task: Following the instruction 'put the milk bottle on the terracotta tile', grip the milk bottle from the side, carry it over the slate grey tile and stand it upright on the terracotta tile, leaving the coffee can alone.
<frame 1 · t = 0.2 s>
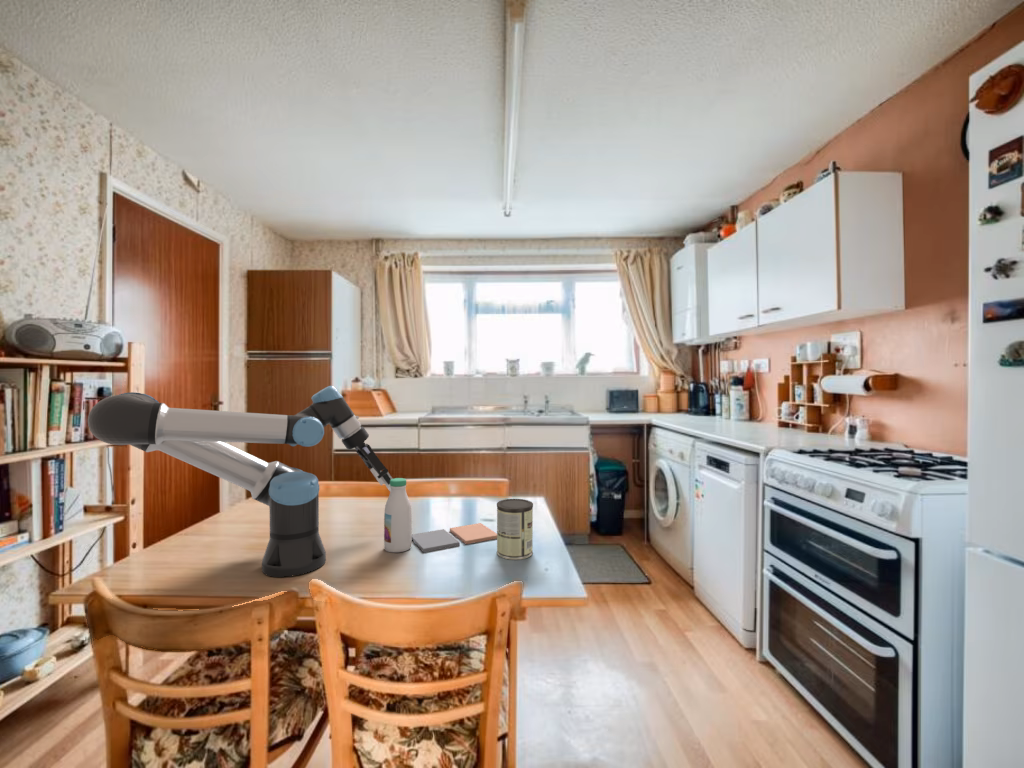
hand: (389, 486, 145), 15 cm above the table, tool tilted 35°, fingers open, 13 cm apart
coffee can: (514, 553, 130), on the table
terracotta tile: (473, 534, 144), on the table
slate tile: (434, 541, 138), on the table
milk bottle: (398, 548, 133), on the table
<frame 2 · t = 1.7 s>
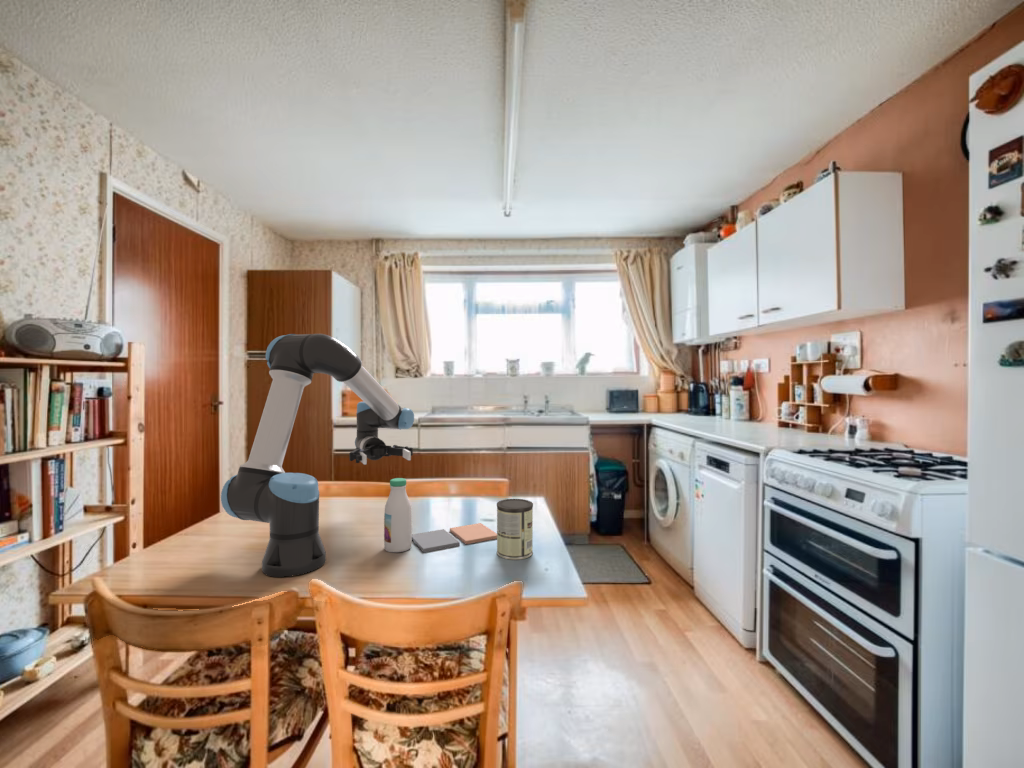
hand: (388, 458, 142), 24 cm above the table, tool horizontal, fingers open, 13 cm apart
nothing on the table moved.
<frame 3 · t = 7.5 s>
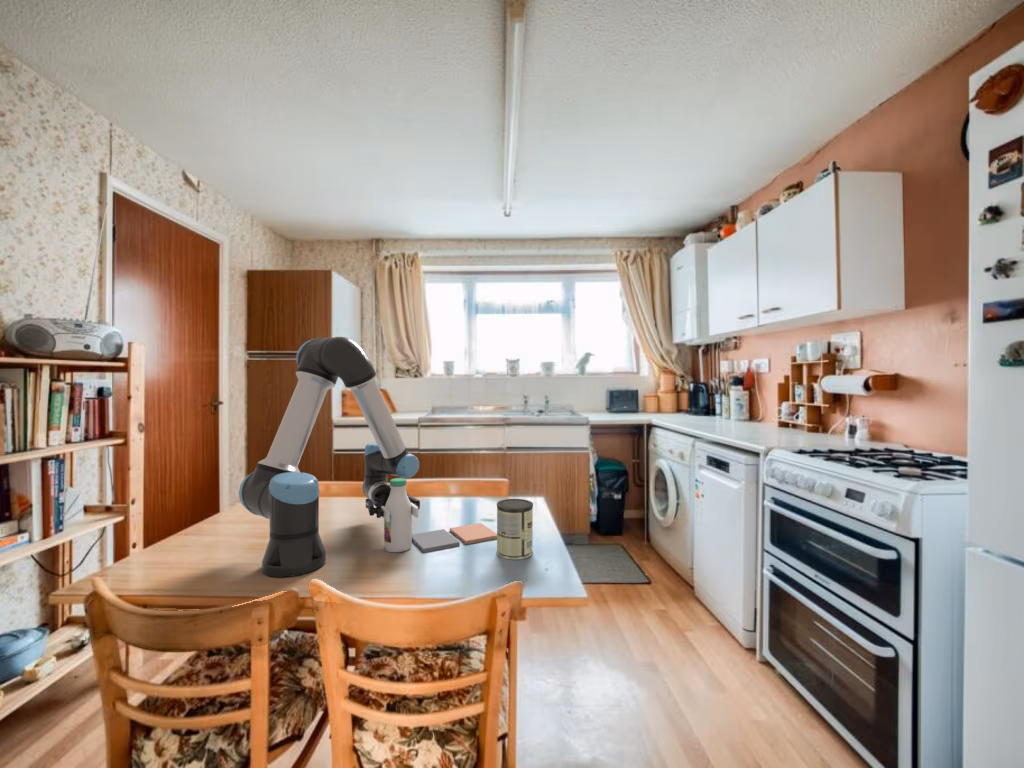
hand: (402, 514, 128), 11 cm above the table, tool horizontal, fingers closed on milk bottle, 7 cm apart
milk bottle: (398, 548, 133), on the table, touching gripper
everything else where it was.
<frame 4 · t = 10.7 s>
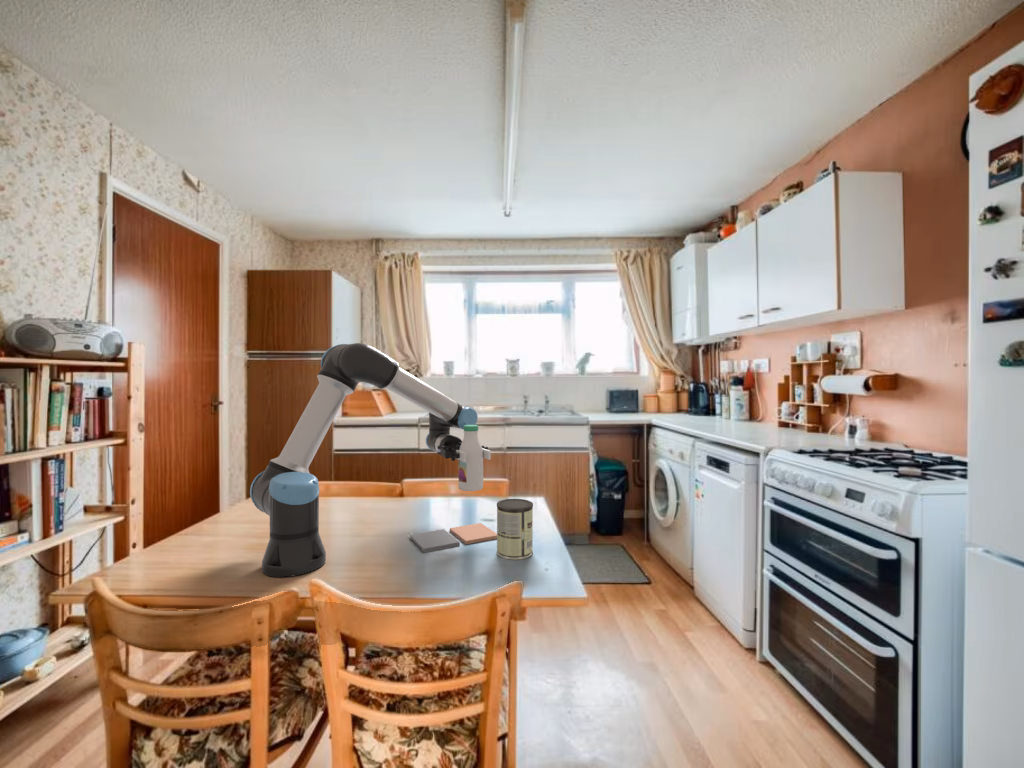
hand: (477, 456, 140), 25 cm above the table, tool horizontal, fingers closed on milk bottle, 7 cm apart
milk bottle: (470, 489, 144), point 14 cm above the table, touching gripper
everything else where it was.
when the fingers open (13 cm above the table, at t = 14.0 s): milk bottle stays where it is, resting on terracotta tile.
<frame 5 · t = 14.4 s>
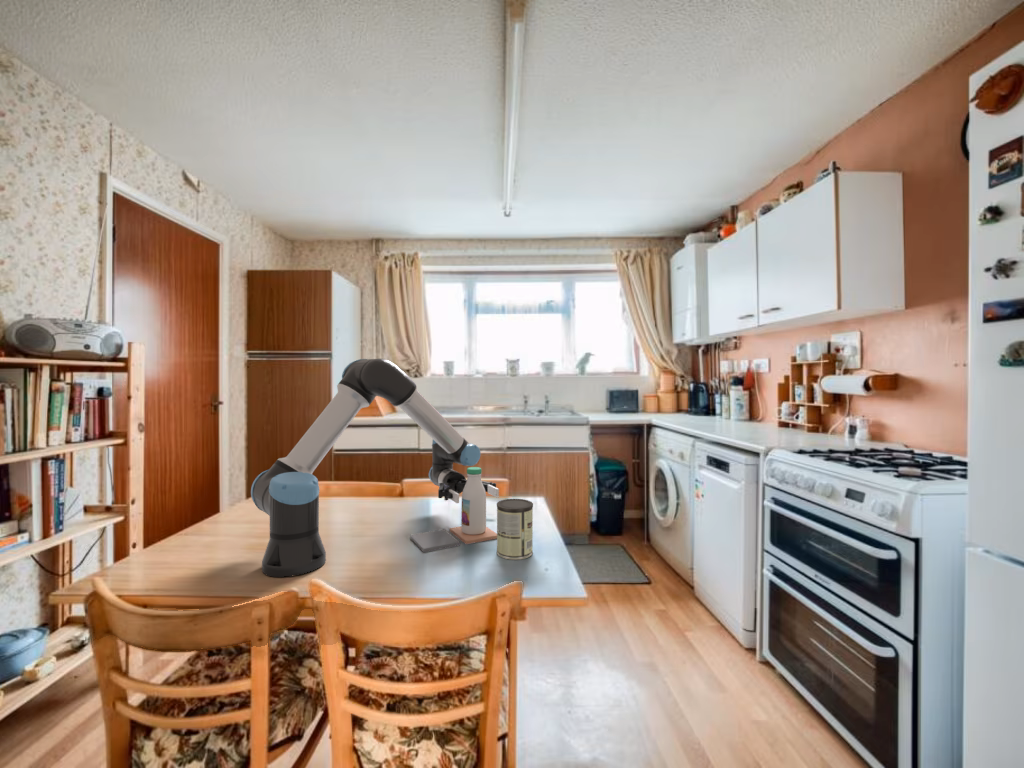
hand: (478, 495, 141), 13 cm above the table, tool horizontal, fingers open, 13 cm apart
milk bottle: (473, 531, 144), point 1 cm above the table, touching terracotta tile
everything else where it was.
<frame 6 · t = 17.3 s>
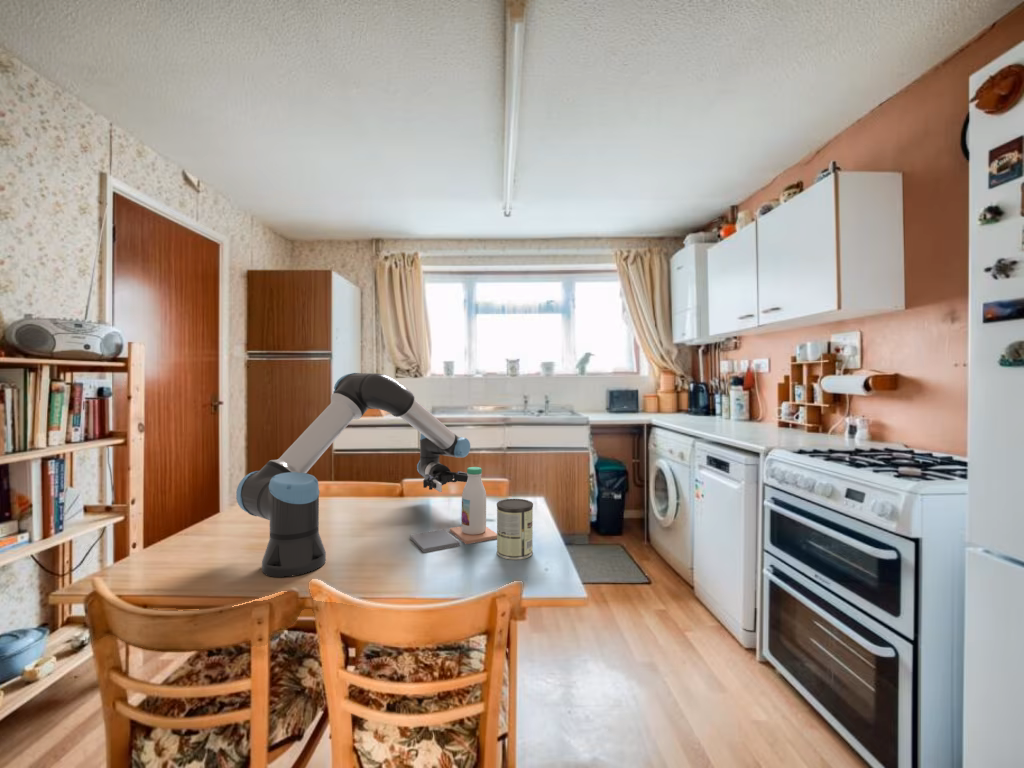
hand: (460, 485, 154), 13 cm above the table, tool horizontal, fingers open, 13 cm apart
nothing on the table moved.
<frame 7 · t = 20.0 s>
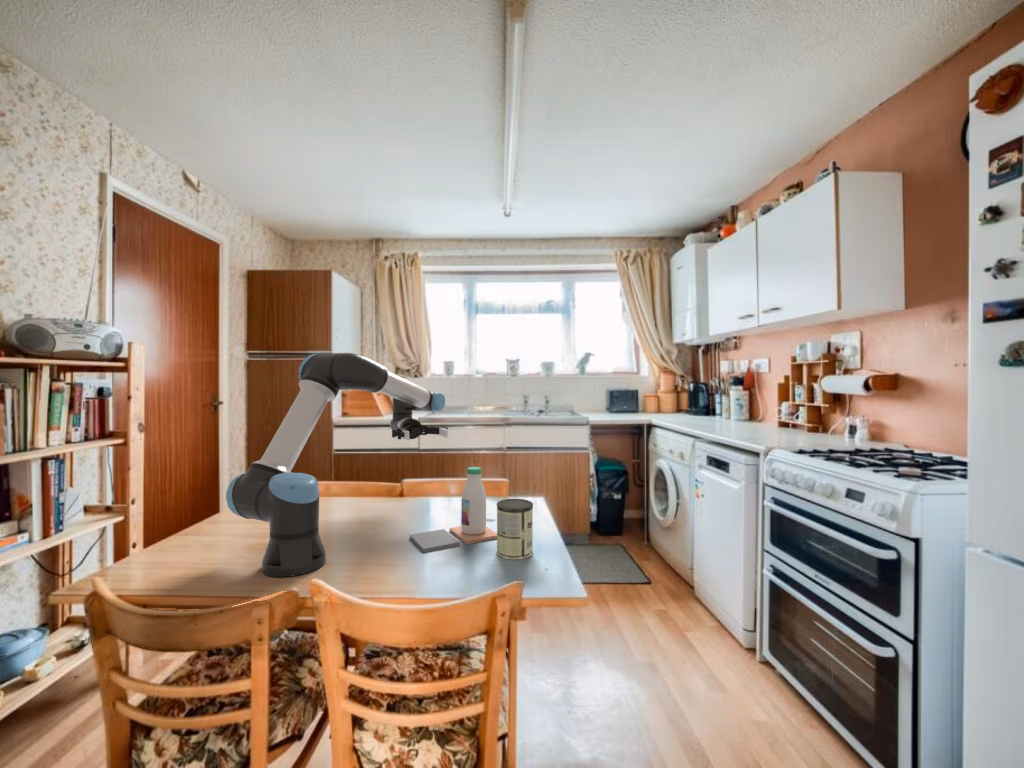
hand: (428, 434, 155), 30 cm above the table, tool horizontal, fingers open, 13 cm apart
nothing on the table moved.
at the end: milk bottle inside the target area on the terracotta tile (0.1 cm from its centre), point 0.8 cm above the terracotta tile's base; milk bottle tilted 0°; coffee can moved 0.2 cm from its start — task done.
